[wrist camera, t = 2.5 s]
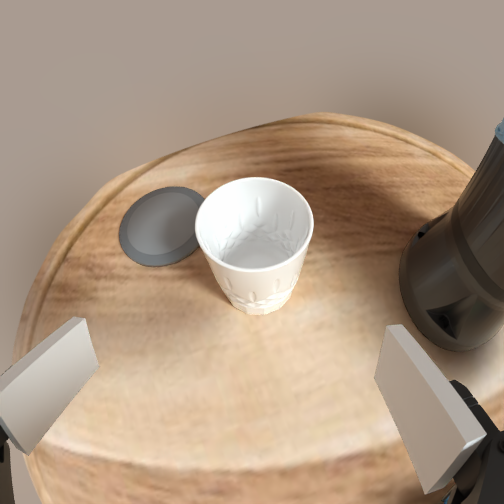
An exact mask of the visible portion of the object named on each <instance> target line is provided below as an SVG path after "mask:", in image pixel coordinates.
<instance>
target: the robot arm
mask: <svg viewBox="0 0 504 504" xmlns="http://www.w3.org/2000/svg"><path fill="white" fill-rule="evenodd" d="M399 281H400V289H401V293H402V297H403V300H404V303H405V306H406V308H407V310H408V312H409V314H410V316H411V318H412V320H413V321H414V323H415V324H416V326H417V327H418V328H419V330H420V331H421V332H422V333H423V334H424V335H425V336H426V337H427V338H428V339H429V340H431V341H432V342H433V343H435V344H436V345H438V346H440V347H442V348H444V349H447V350H450V351H456V352H462V351H468V350H471V349H474V348H476V347H478V346H480V345H482V344H484V343H486V342H487V341H489V340H490V339H491V338H493V337H494V336H495V335H496V334H497V332H498V331H499V330H500V329H501V327H502V326H503V325H504V119H503V120H502V122H501V123H500V124H498V125H497V127H496V129H495V137H494V139H493V141H492V143H491V145H490V146H489V148H488V150H487V152H486V154H485V156H484V158H483V160H482V161H481V163H480V165H479V167H478V168H477V170H476V172H475V173H474V175H473V177H472V179H471V180H470V182H469V183H468V185H467V186H466V188H465V190H464V191H463V193H462V194H461V196H460V198H459V199H458V201H457V202H456V204H455V205H454V206H453V207H452V208H450V209H449V210H447V211H446V212H444V213H443V214H441V215H439V216H438V217H436V218H435V219H433V220H431V221H430V222H428V223H427V224H425V225H423V226H422V227H421V228H420V229H419V230H418V231H417V232H416V233H415V234H414V236H413V237H412V239H411V240H410V242H409V243H408V244H407V246H406V248H405V249H404V252H403V254H402V257H401V261H400V268H399ZM98 368H99V364H98V361H97V358H96V355H95V352H94V348H93V345H92V342H91V338H90V335H89V331H88V327H87V323H86V319H85V318H80V317H72V318H71V319H70V320H68V321H67V322H66V323H64V324H63V325H62V326H61V327H59V328H58V329H57V330H56V331H54V332H53V333H52V334H51V335H49V336H48V337H47V338H46V339H44V340H43V341H42V342H41V343H39V344H38V345H37V346H36V347H34V348H33V349H32V350H31V351H30V352H28V353H27V354H26V355H25V356H24V357H22V358H21V359H20V360H19V361H18V362H16V363H15V364H14V365H12V366H11V367H10V368H9V369H8V370H7V371H5V373H3V374H2V375H1V376H0V504H15V501H14V494H13V486H12V477H11V466H10V448H9V445H8V443H7V442H6V440H8V438H10V440H11V441H12V443H13V444H14V445H15V447H16V448H17V449H19V450H20V451H22V452H23V453H25V454H27V455H28V456H29V455H30V453H31V452H32V451H33V449H34V448H35V447H36V445H37V444H38V443H39V441H40V440H41V439H42V437H43V436H44V435H45V434H46V432H47V431H48V430H49V428H50V427H51V426H52V425H53V423H54V422H55V421H56V419H57V418H58V417H59V416H60V414H61V413H62V412H63V411H64V409H65V408H66V407H67V406H68V404H69V403H70V402H71V401H72V399H73V398H74V397H75V396H76V394H77V393H78V392H79V391H80V390H81V388H82V387H83V386H84V385H85V383H86V382H87V381H88V380H89V379H90V377H91V376H92V375H93V374H94V373H95V371H96V370H97V369H98ZM374 379H375V381H376V383H377V385H378V387H379V389H380V392H381V394H382V396H383V398H384V400H385V402H386V404H387V406H388V409H389V411H390V413H391V415H392V417H393V420H394V422H395V424H396V426H397V428H398V431H399V433H400V435H401V438H402V440H403V442H404V444H405V447H406V449H407V452H408V454H409V456H410V459H411V461H412V464H413V466H414V468H415V471H416V473H417V476H418V478H419V481H420V483H421V486H422V489H423V491H424V494H425V495H426V494H429V493H431V492H434V491H437V490H439V489H441V488H444V487H445V486H446V485H447V484H448V483H449V482H450V481H451V479H452V478H454V480H455V483H456V484H455V485H454V486H453V487H452V488H451V489H450V491H449V492H448V493H447V494H446V495H445V496H444V497H443V499H442V500H441V501H445V500H446V499H447V498H448V497H449V499H448V501H447V504H504V431H501V432H500V431H499V430H498V428H497V427H496V426H495V424H494V423H493V422H492V420H491V419H490V417H489V416H488V415H487V413H486V412H485V411H484V409H483V408H482V407H481V406H480V405H478V402H477V400H476V399H475V398H473V395H472V394H471V393H470V391H469V390H468V389H467V388H466V387H465V386H464V385H462V384H461V383H459V382H458V381H456V380H453V381H448V380H447V379H446V377H445V376H444V375H443V373H442V372H441V371H440V370H439V368H438V367H437V366H436V365H435V363H434V362H433V361H432V360H431V358H430V357H429V356H428V355H427V353H426V352H425V351H424V350H423V349H422V347H421V346H420V345H419V344H418V343H417V341H416V340H415V339H414V338H413V337H412V335H411V334H410V333H409V332H408V331H407V330H406V328H405V327H404V326H403V325H402V324H398V325H387V326H386V328H385V333H384V338H383V343H382V347H381V352H380V356H379V360H378V364H377V368H376V372H375V376H374Z"/></svg>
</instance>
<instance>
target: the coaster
mask: <svg viewBox="0 0 504 504" xmlns="http://www.w3.org/2000/svg"><path fill="white" fill-rule="evenodd" d="M203 201H204V198H203V197H202V196H201V195H200V194H198V193H197V192H195V191H193V190H191V189H188V188H185V187H165V188H161V189H157V190H155V191H152V192H150V193H148V194H146V195H145V196H143V197H142V198H140V199H139V200H138V201H136V202H135V203H134V204H133V205H132V206H131V207H130V209H129V210H128V211H127V213H126V214H125V216H124V218H123V220H122V223H121V226H120V232H119V238H120V243H121V246H122V248H123V250H124V252H125V253H126V254H127V255H128V257H129V258H131V259H132V260H133V261H134V262H136V263H138V264H140V265H143V266H148V267H162V266H167V265H171V264H174V263H176V262H179V261H181V260H182V259H184V258H186V257H187V256H189V255H190V254H191V253H193V252H194V251H195V250H196V249H197V248H198V247H199V246H200V245H199V243H198V240H197V237H196V233H195V220H196V215H197V212H198V210H199V208H200V206H201V204H202V203H203Z"/></svg>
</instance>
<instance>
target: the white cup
mask: <svg viewBox="0 0 504 504" xmlns="http://www.w3.org/2000/svg"><path fill="white" fill-rule="evenodd" d="M313 226H314V221H313V214H312V211H311V208H310V206H309V204H308V203H307V201H306V200H305V198H304V197H303V196H302V195H301V194H300V193H299V192H298V191H297V190H295V189H294V188H293V187H291V186H289V185H287V184H285V183H283V182H281V181H278V180H274V179H270V178H263V177H249V178H242V179H238V180H234V181H231V182H229V183H226V184H224V185H222V186H221V187H219V188H217V189H216V190H215V191H213V192H212V193H211V194H210V195H209V196H208V197H207V198H206V199H205V200H204V201H203V203H202V204H201V206H200V208H199V210H198V212H197V215H196V220H195V233H196V237H197V240H198V243H199V245H200V247H201V249H202V251H203V253H204V255H205V257H206V260H207V262H208V264H209V266H210V268H211V270H212V272H213V274H214V276H215V278H216V280H217V282H218V284H219V285H220V287H221V289H222V290H223V292H224V293H225V295H226V297H227V298H228V299H229V301H230V302H231V304H232V305H233V306H234V307H235V308H237V309H239V310H241V311H243V312H245V313H247V314H254V315H266V314H268V313H271V312H273V311H276V310H278V309H280V308H281V307H282V306H283V305H284V304H285V303H286V301H287V300H288V299H289V298H290V297H291V294H292V290H293V288H294V286H295V284H296V282H297V279H298V277H299V274H300V271H301V269H302V266H303V263H304V259H305V256H306V253H307V249H308V246H309V243H310V239H311V236H312V233H313Z"/></svg>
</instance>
